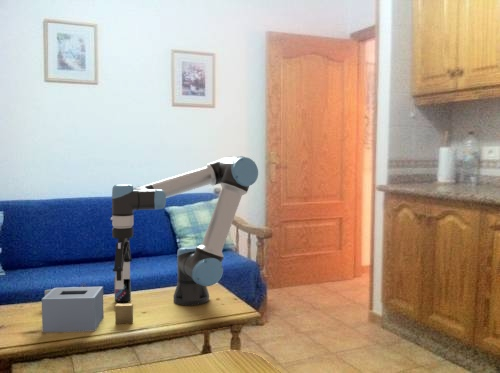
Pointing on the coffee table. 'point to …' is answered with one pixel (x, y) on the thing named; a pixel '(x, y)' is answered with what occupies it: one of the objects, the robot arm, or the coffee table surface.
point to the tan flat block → (124, 313)
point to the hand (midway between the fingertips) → (122, 283)
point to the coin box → (72, 309)
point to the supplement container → (123, 292)
